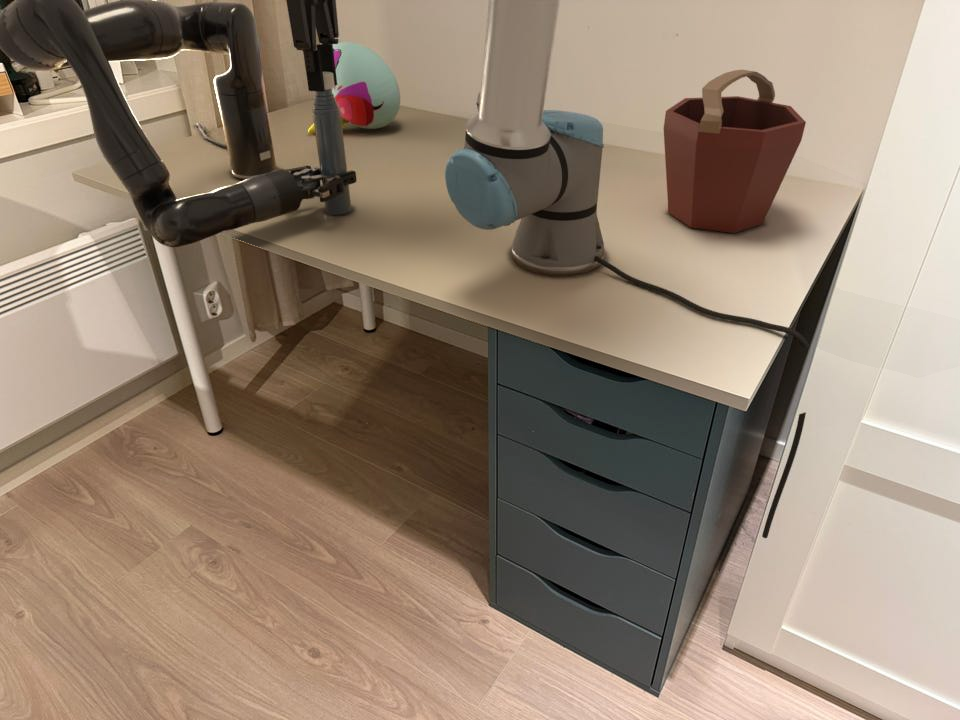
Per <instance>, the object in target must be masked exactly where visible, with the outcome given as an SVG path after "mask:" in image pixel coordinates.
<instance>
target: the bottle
mask: <svg viewBox="0 0 960 720" xmlns="http://www.w3.org/2000/svg"><path fill="white" fill-rule="evenodd" d="M312 105H313V106H312V110H311V111H312V121H313V124H314V128H315V133H314V135H315V142H316V150H317V156H318V163H319V169H320V172H321V175H322V174H324V175H326V176H333V175H338V174H341V173H344V172H348V166H347V165H348V164H347V157H346V150H345V141H344V131H343V125H342V122H341V114H340V109H339V106H338V105H337V101H336V99H335V97H334V94H333V93H332V89H326V90H325V91H324V92H317V91H315V94H314V98H313V103H312ZM332 181H333V180H332ZM329 182H331V181H328V183H329ZM321 185H323V182H322V181H321ZM343 187H344V193H342V194H340V195H338V196H336V197H334V198H332V199H330V200H328V201H326V202H324V208H325V212H326V213H327V214H329V215H332V216H342V215H346V214H349V213H350V212H351V211H352V202H351V201H352V199H351V194H350V193H351V192H350V184H349V185H346V186H343Z"/></svg>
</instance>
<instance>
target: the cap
mask: <svg viewBox="0 0 960 720" xmlns="http://www.w3.org/2000/svg"><path fill="white" fill-rule="evenodd" d="M323 80H324V88H325V90H326V89H331V88H334V87H335V85H334V76H333V73H332V72H323Z"/></svg>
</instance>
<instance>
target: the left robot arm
mask: <svg viewBox="0 0 960 720" xmlns="http://www.w3.org/2000/svg"><path fill="white" fill-rule="evenodd" d="M0 50H1V51H2V52H3V53H4V54H5V55H6V57H8V58H9V59H10V60H12V61H13V62H15V63H16V64H18V65H20V66H22V67H24V68H27V69H30V70H34V71H41V72H49V71H54V70H59V69H63V68H68V67H71V69H72V70H73V72H74V74H75V75H76V77H77V80H78V81H79V83H80V84H81V88H82V91H83V93H84V96H85V99H86V103H87V106H88V111H89V116H90V120H91V125H92V130H93V134H94V139H95V142H96V144H97V146H98V149H99V150H100V153H101V155H102V156H103V158H104V159H105V161H106V162H107V164H108V165H109V167H110V168H111V170H112V171H113V173H114V174H115V175H116V177H117V178H118V180H119V181H120V183H121V184H122V186H123V187H124V188H125V189H126V191H127V192H128V194H129V196H130V198H131V201H132V203H133V205H134V207H135V209H136V212H137V214H138V216H139V217H140V220H141V222H142V224H143V225H144V227H145V228H146V230H147V232H148V233H149V234H150V235H151V237H152V238H153V239H154V240H155V241H156V242H158V243H159V244H161V245H162V246H164V247H168V248H179V247H183V246H188V245H191V244H195V243H197V242H200V241H203V240H205V239H208V238H210V237H213V236H215V235H218V234H220V233H223V232H228V231H231V230H237V229H239V228H242V227H246V226H248V225H251V224H252V225H253V224H255V223H262V222H265V221H269V220H271V219H275V218H279V217H281V216H283V215H287V214H290V213H293V212H295V211H298V209H299V208H300V206H301V204H302V202H303V200H312V199H315V198H316V197H317V198H319V202H320V203H325V202H326V201H328V200H330V199H332V198H334V197H336V196H338V195H340V194H342V193H344V187H343V186H346V185H349V186H350V185H352V184H355V183H356V182H357V172H356V171H355V170H352V169H351V170H347V172H344V173H341V174H338V175H333V176H326V175H324V174H322V175H321V172H320V166H314V167H312V166H311V165H308V164H307V165H303V166H298V167H293V168H287V169H284V168H280V169H278V166H277V162H276V157H275V156H276V155H275V152H274V151H275V150H274V144H273V138H272V133H271V128H270V122H269V116H268V110H267V106H266V105H267V104H266V99H265V94H264V93H265V92H264V88H263V87H264V86H263V62H262V55H261V47H260V39H259V31H258V25H257V22H256V19H255V16H254V14H253V12H252V10H251V9H250V8H249V7H248V6H247V5H246V4H244V3H240V2H225V1H207V2H206V1H205V2H200V3H196V4H189V5H182V6H179V5H178V6H175V5H171V4H169V3H167V2H164V1H159V0H114V1H110V2H108V3H104V4H100V5H97V6H94V7H91V8H88V9H84V10H83V9H82V7H80V5H79V4H78V2H76V1H75V0H13V1H11V2H10V3H9V4H7V5H6V7H4V8H3V9H2V10H1V11H0ZM181 51H196V52H202V53H210V54H215V55H217V54H218V55H229V60H230V67H229V69H227V70H226V71H224V72H220V73H217V75H215V76H214V78H213V85H214V91H215V94H216V100H217V104H218V108H219V109H218V110H219V113H220V117H221V124H222V127H223V128H222V129H223V134H224V140H225V143H223V142H220V141H219V140H216V139H214V138H211V137H209V136H208V135H207V133H206V132H205V130H204V129H203V127H202V125H201V123H200V122H196V123H195V128H198V129H199V132H200V133H201V135H202V136H203V137H204V138H205V139H206V140H208V141H210V142H211V143H214V144H216V145H218V146H220V147H223V148H225V149H227V153H228V159H229V162H230V167H231V174H232V176H233V177H234V178H236V179H240V180H242V181H239V182H236V183H233V184H230V185H229V184H228V185H226V186H222V187H219V188H216V189H214V190H211V191H209V192H205V193H199V194H195V195H191V196H186V197H182V198H179V199H178V198H177V195H175V192H174V190H173V189H172V187H171V185H170V180H171V179H170V178H171V175H170V171H169V170H168V168H167V166H166V164H165V162H164V161H163V160H162V157H161V156H160V154H159V153H158V151H157V150H156V148H155V147H154V145H153V144H152V142H151V141H150V139H149V138H148V136H147V135H146V133H145V132H144V130H143V128H142V127H141V125H140V123H139V121H138V120H137V118H136V116H135V115H134V113H133V111H132V109H131V107H130V105H129V103H128V101H127V99H126V97H125V94H124V92H123V90H122V88H121V86H120V84H119V81H118V79H117V77H116V75H115V73H114V70H113V68H112V66H111V64H110V62H124V61H125V62H126V61H127V62H128V61H150V60H152V61H153V60H162V59H169V58H172V57H174V56H176V55H177V54H179V53H180V52H181ZM332 180H333V181H332ZM328 181H331V182H329V183H328ZM322 182H323V185H322Z"/></svg>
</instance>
